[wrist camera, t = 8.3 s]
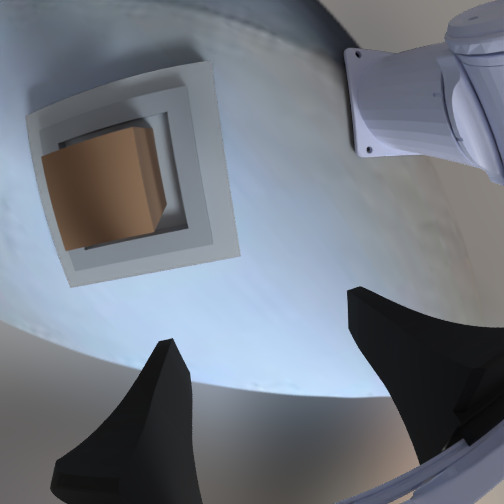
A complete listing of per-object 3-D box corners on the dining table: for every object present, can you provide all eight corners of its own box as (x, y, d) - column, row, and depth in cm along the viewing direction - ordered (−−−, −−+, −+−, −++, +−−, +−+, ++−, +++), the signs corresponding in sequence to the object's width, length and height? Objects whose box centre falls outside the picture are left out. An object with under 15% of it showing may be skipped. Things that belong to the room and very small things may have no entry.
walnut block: (153, 128, 15) (132, 127, 10) (166, 204, 17) (154, 232, 12) (81, 148, 14) (41, 156, 10) (97, 219, 16) (65, 251, 12)
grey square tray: (210, 67, 16) (211, 55, 13) (237, 244, 20) (243, 262, 18) (40, 116, 14) (17, 116, 12) (79, 274, 19) (65, 295, 17)
